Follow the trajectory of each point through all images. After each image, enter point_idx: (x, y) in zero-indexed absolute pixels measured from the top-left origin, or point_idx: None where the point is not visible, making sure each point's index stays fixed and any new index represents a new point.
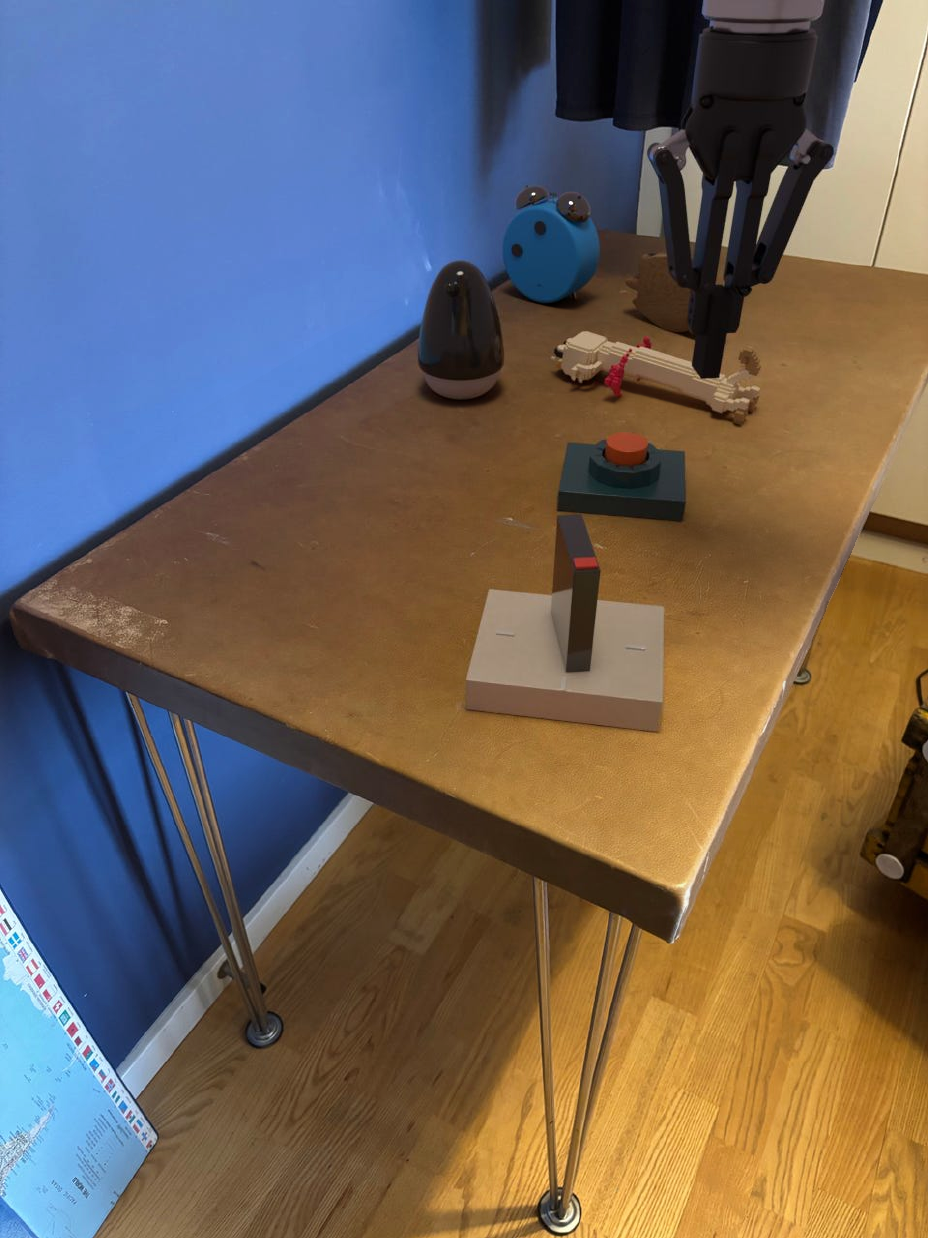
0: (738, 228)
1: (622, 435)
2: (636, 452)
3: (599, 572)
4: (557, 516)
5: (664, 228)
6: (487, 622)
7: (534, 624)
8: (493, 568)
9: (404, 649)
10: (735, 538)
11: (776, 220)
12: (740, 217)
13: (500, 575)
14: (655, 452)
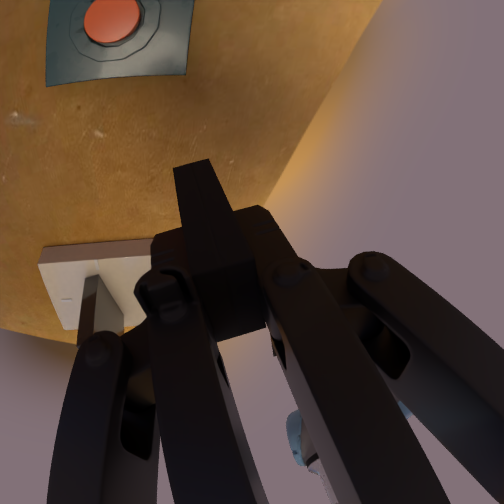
0: (328, 470)
1: (105, 3)
2: (122, 38)
3: None
4: (77, 347)
5: (53, 495)
6: (52, 293)
7: (79, 289)
8: (24, 192)
9: (15, 282)
10: (233, 96)
11: (448, 429)
12: (342, 501)
13: (31, 199)
14: (153, 7)
